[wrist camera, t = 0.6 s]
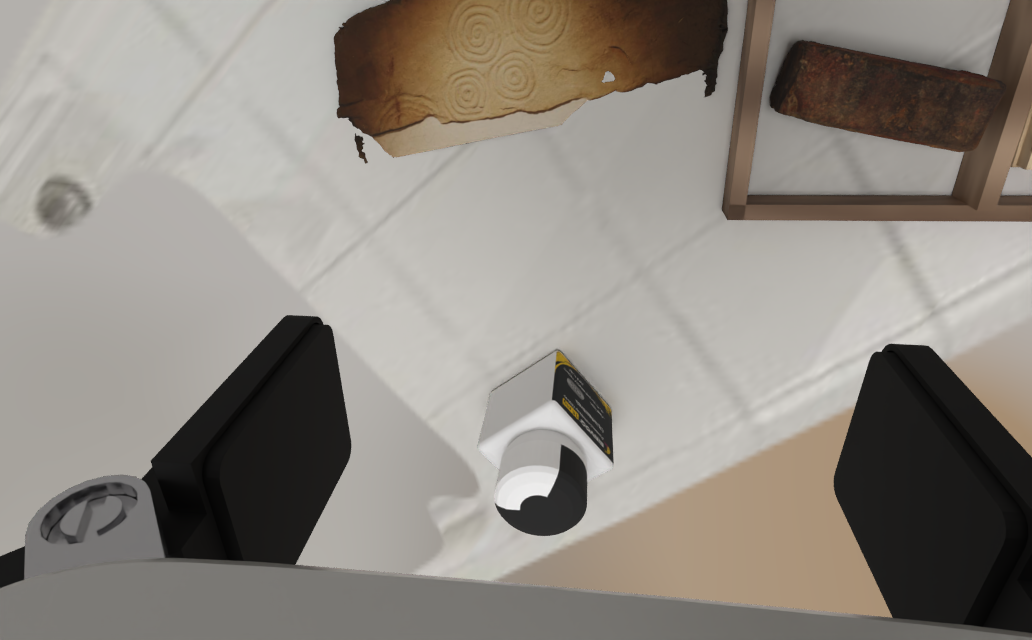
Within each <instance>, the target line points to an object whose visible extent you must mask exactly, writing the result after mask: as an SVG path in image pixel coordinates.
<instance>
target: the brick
mask: <svg viewBox="0 0 1032 640" xmlns="http://www.w3.org/2000/svg"><path fill="white" fill-rule="evenodd" d="M1006 87H1007V86H1006V85H1005V84H1004V83H1003V82H1002V81H1000V80H996V79H992V78H988V77H985V76H983V75H980V74H975V73H971V72H968V71H963V70H961V71H957V70H949V69H945V68H941V67H936V66H931V65H926V64H921V63H915V62H909V61H905V60H900V59H895V58H890V57H885V56H879V55H875V54H869V53H865V52H859V51H853V50H849V49H845V48H840V47H834V46H830V45H824V44H820V43H816V42H812V41H809V42H808V41H804V40H801V41H797V42H796V43H795V44H794V45H793V47H792V49H791V50H790V52H789V53H788V56H787V58H786V60H785V62H784V64H783V67H782V69H781V72H780V74H779V76H778V79H777V81H776V86H775V87H774V88H773V90H772V93H771V96H770V101H771V103H770V106H771V108H773V109H775V111H776V112H778V113H781V114H784V115H788V116H794V117H796V118H799V119H802V120H804V121H807V122H811V123H816V124H819V125H823V126H828V127H834V128H839V129H844V130H848V131H852V132H858V133H863V134H868V135H874V136H878V137H883V138H888V139H893V140H898V141H904V142H910V143H915V144H922V145H927V146H930V147H934V148H941V149H946V150H951V151H956V152H967V151H973V150H975V149H976V148H977V147H978V145H979V143H980V141H981V138H982V136H983V134H984V132H985V130H986V128H987V126H988V124H989V122H990V120H991V118H992V116H993V114H994V112H995V110H996V108H997V107H998V105H999V103H1000V101H1001V99H1002V97H1003V95H1004V93H1005V91H1006Z"/></svg>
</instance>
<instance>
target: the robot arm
mask: <svg viewBox="0 0 1032 640" xmlns="http://www.w3.org/2000/svg"><path fill="white" fill-rule="evenodd" d="M350 454H351V438H350V432H349V426H348V420H347V414H346V408H345V402H344V396H343V390H342V385H341V378H340V372H339V366H338V360H337V354H336V348H335V342H334V336H333V331H332V329H331V327H330V326H329V325H323V322H322V320H321V319H320V318H319V317H313V316H312V317H311V316H293V315H287V316H285V317H284V318H283V319H282V320H281V321H280V322H279V323H278V324H277V325H276V326H275V327H274V328H273V330H272V331H271V332H270V333H269V334H268V335H267V336H266V337H265V338H264V339H263V340H262V341H261V342H260V344H259V345H258V346H257V347H256V348H255V349H254V350H253V351H252V352H251V353H250V354H249V355H248V357H247V358H246V359H245V360H244V361H243V362H242V363H241V364H240V365H239V366H238V367H237V368H236V369H235V371H234V372H233V373H232V374H231V375H230V376H229V377H228V378H227V379H226V380H225V381H224V382H223V383H222V385H221V386H220V387H219V388H218V389H217V390H216V391H215V392H214V393H213V394H212V396H210V397H209V399H208V400H207V401H206V402H205V403H204V404H203V405H202V406H201V407H200V408H199V409H198V410H197V412H196V413H195V414H194V415H193V416H192V417H191V418H190V419H189V420H188V421H187V422H186V423H185V424H184V426H183V427H182V428H181V429H180V430H179V431H178V432H177V433H176V434H175V435H174V436H173V437H172V439H171V440H170V441H169V442H168V443H167V444H166V445H165V446H164V447H163V448H162V449H161V450H160V451H159V452H158V454H157V455H156V456H155V457H154V458H153V459H152V460H151V463H152V466H153V467H152V468H151V469H150V470H149V471H148V473H147V474H146V475H145V476H144V477H143V478H142V479H139V478H137V477H134V476H128V475H111V476H103V477H100V478H96V479H92V480H88V481H85V482H83V483H81V484H78V485H76V486H73V487H71V488H69V489H67V490H65V491H64V492H62V493H60V494H59V495H57V496H56V497H54V498H52V499H51V500H50V501H49V502H48V503H46V504H45V505H44V506H43V507H42V508H41V509H40V510H38V512H37V513H36V514H35V516H34V517H33V518H32V520H31V521H30V522H29V525H28V528H27V531H26V535H25V546H24V547H22V548H20V549H17V550H15V551H12V552H10V553H7V554H5V555H2V556H0V640H1032V457H1031V456H1030V455H1029V454H1028V453H1027V452H1026V451H1025V449H1023V447H1022V446H1021V445H1020V444H1019V443H1018V442H1017V441H1016V440H1015V439H1014V438H1013V437H1012V436H1011V434H1010V433H1009V432H1008V431H1007V430H1006V429H1005V428H1004V427H1003V426H1002V424H1001V423H1000V422H999V421H998V420H997V419H996V418H995V417H994V416H993V415H992V414H991V412H990V411H989V410H988V409H987V408H986V407H985V406H984V405H983V404H982V403H981V402H980V401H979V399H978V398H977V397H976V396H975V395H974V394H973V393H972V392H971V391H970V390H969V389H968V387H967V386H966V385H965V384H964V383H963V382H962V381H961V380H960V379H959V378H958V377H957V375H956V374H955V373H954V372H953V371H952V370H951V369H950V368H949V367H948V366H947V365H946V364H945V362H944V361H943V360H942V359H941V358H940V357H939V356H938V355H937V354H936V353H935V352H934V350H933V349H931V348H930V347H929V346H924V345H903V344H888V345H887V346H885V348H884V349H883V350H882V352H875V353H874V354H873V355H872V356H871V358H870V361H869V364H868V367H867V370H866V374H865V377H864V380H863V383H862V387H861V390H860V393H859V396H858V400H857V403H856V406H855V410H854V413H853V416H852V419H851V423H850V426H849V429H848V433H847V436H846V439H845V442H844V445H843V449H842V452H841V455H840V458H839V462H838V465H837V468H836V471H835V475H834V490H835V494H836V497H837V500H838V502H839V504H840V506H841V508H842V510H843V512H844V514H845V517H846V519H847V521H848V523H849V525H850V527H851V529H852V532H853V534H854V536H855V538H856V540H857V542H858V544H859V546H860V549H861V551H862V553H863V555H864V557H865V559H866V561H867V564H868V566H869V568H870V570H871V572H872V574H873V576H874V578H875V581H876V583H877V585H878V587H879V589H880V591H881V593H882V595H883V598H884V600H885V602H886V604H887V606H888V608H889V610H890V613H891V614H892V617H893V618H888V617H879V616H869V615H857V614H847V613H837V612H826V611H815V610H805V609H794V608H784V607H773V606H763V605H752V604H741V603H731V602H720V601H710V600H699V599H688V598H676V597H665V596H655V595H643V594H632V593H621V592H610V591H599V590H588V589H576V588H564V587H554V586H542V585H531V584H519V583H508V582H497V581H485V580H473V579H461V578H449V577H437V576H425V575H413V574H401V573H389V572H376V571H365V570H352V569H341V568H329V567H316V566H303V565H295V564H296V562H297V560H298V558H299V556H300V555H301V553H302V551H303V548H304V547H305V545H306V543H307V541H308V539H309V537H310V535H311V533H312V531H313V529H314V527H315V525H316V523H317V521H318V519H319V518H320V516H321V514H322V512H323V510H324V508H325V506H326V504H327V502H328V500H329V498H330V496H331V494H332V492H333V490H334V488H335V486H336V484H337V483H338V481H339V479H340V476H341V475H342V473H343V471H344V469H345V467H346V465H347V463H348V461H349V458H350Z"/></svg>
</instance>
